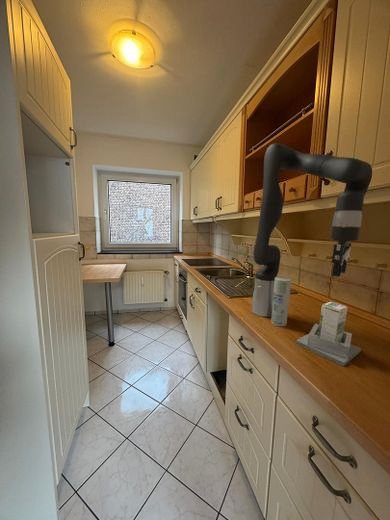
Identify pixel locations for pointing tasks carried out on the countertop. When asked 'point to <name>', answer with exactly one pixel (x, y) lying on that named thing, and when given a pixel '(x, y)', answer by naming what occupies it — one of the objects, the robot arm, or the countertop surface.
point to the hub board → (337, 359)
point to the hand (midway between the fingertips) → (338, 274)
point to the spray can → (281, 301)
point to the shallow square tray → (330, 343)
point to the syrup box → (332, 321)
